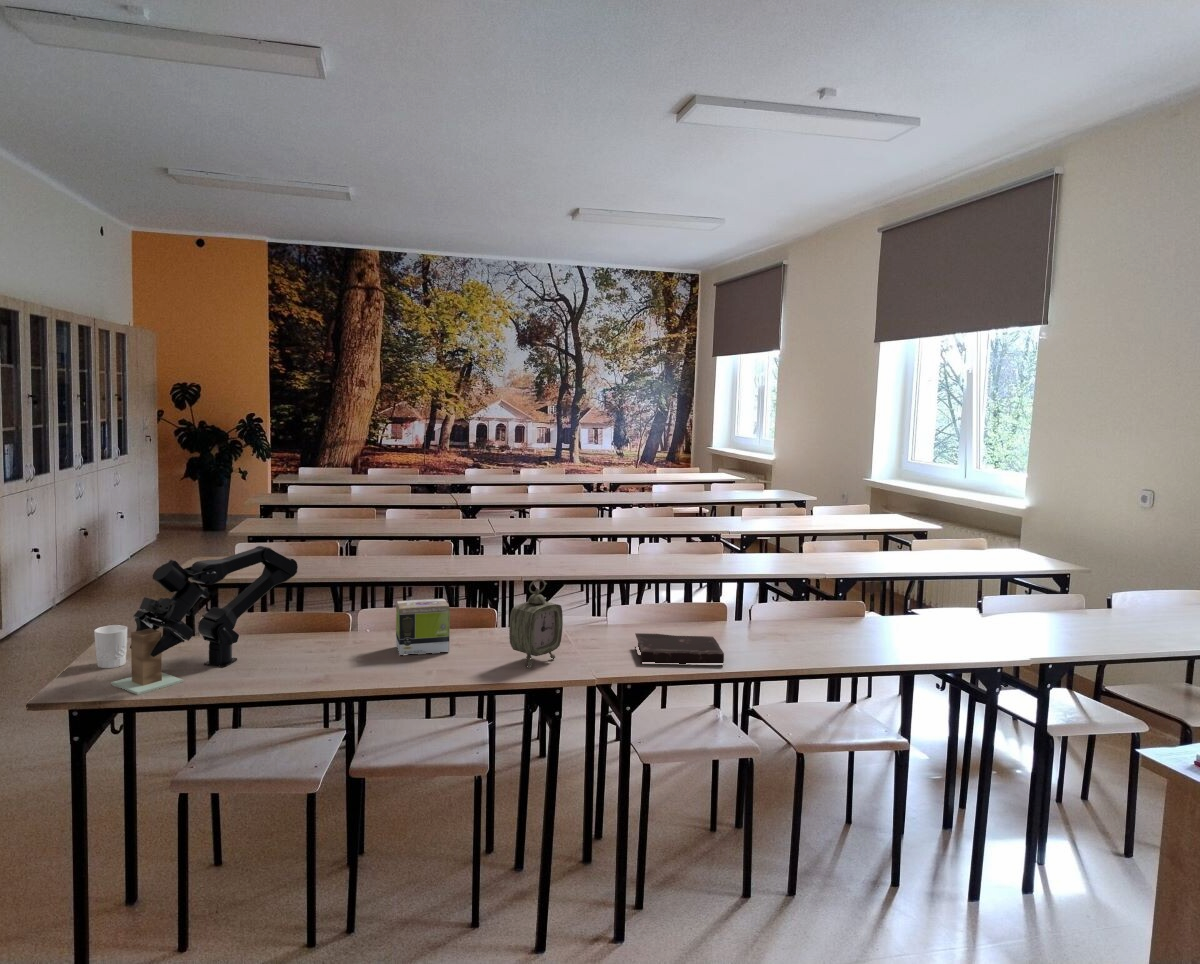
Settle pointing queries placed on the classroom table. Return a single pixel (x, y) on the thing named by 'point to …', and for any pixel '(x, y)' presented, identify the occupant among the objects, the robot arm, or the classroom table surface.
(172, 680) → the green mat
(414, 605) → the tea box
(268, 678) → the classroom table surface
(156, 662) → the walnut block
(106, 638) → the white cup
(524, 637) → the tabletop clock
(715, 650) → the diary
